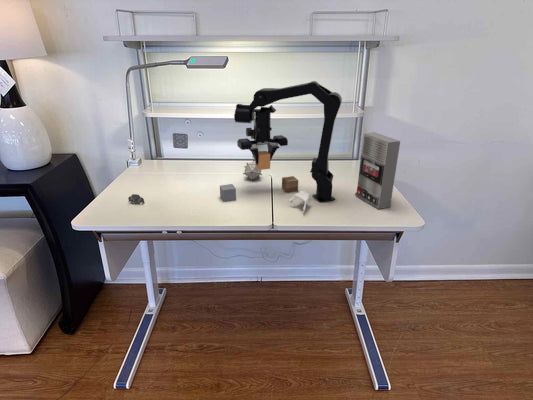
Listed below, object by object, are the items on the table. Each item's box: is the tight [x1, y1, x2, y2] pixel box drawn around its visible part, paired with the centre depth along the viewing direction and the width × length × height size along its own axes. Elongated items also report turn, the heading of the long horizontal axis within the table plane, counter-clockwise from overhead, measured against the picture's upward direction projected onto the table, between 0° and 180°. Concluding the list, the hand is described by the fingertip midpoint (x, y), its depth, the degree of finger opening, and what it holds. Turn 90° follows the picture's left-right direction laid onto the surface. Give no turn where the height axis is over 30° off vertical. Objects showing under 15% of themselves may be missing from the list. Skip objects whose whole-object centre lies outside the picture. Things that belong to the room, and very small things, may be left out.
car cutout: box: [128, 193, 146, 207], centre depth 138 cm, size 15×7×4 cm, turn 80°
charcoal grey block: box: [219, 183, 237, 203], centre depth 144 cm, size 5×5×5 cm
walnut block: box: [281, 175, 299, 194], centre depth 152 cm, size 5×5×5 cm
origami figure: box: [288, 189, 313, 215], centre depth 136 cm, size 12×8×5 cm
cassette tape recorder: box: [354, 132, 401, 210], centre depth 138 cm, size 14×6×25 cm, turn 24°
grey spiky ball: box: [242, 159, 263, 182], centre depth 163 cm, size 9×8×10 cm
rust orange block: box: [255, 150, 271, 171], centre depth 146 cm, size 4×4×6 cm
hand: (262, 163), depth 146 cm, fingers closed on rust orange block, 4 cm apart
